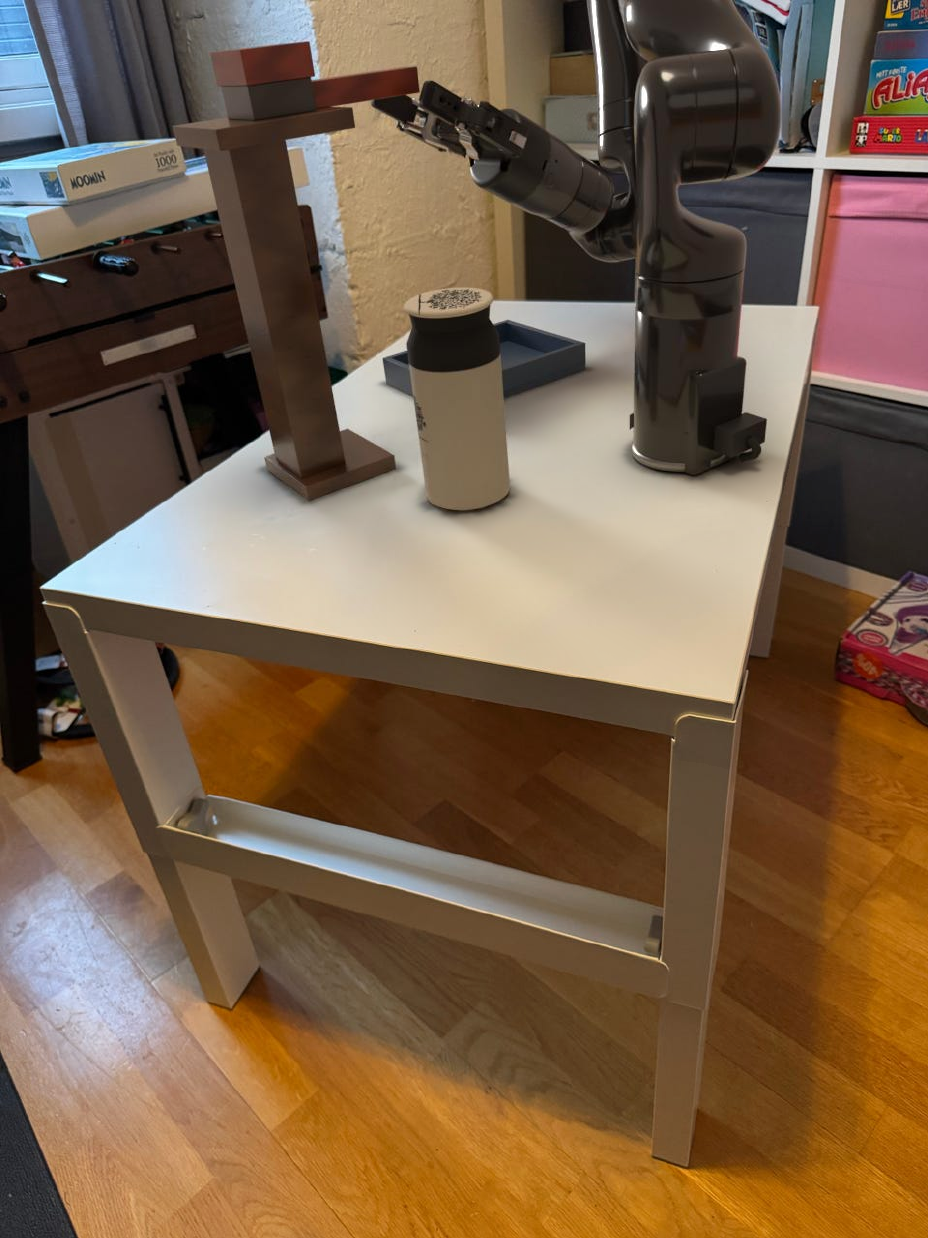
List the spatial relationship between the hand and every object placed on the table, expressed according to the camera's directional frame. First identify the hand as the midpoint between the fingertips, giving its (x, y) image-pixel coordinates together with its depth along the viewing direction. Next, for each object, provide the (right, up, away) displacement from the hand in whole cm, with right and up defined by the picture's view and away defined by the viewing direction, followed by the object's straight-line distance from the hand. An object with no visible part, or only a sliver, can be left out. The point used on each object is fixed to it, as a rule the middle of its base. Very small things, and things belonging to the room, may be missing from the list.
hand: (397, 92), depth 79 cm
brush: (-6, -3, -3) cm, 7 cm away
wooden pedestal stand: (-8, -32, +12) cm, 35 cm away
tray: (+9, -17, +31) cm, 36 cm away
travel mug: (+6, -35, +5) cm, 36 cm away
